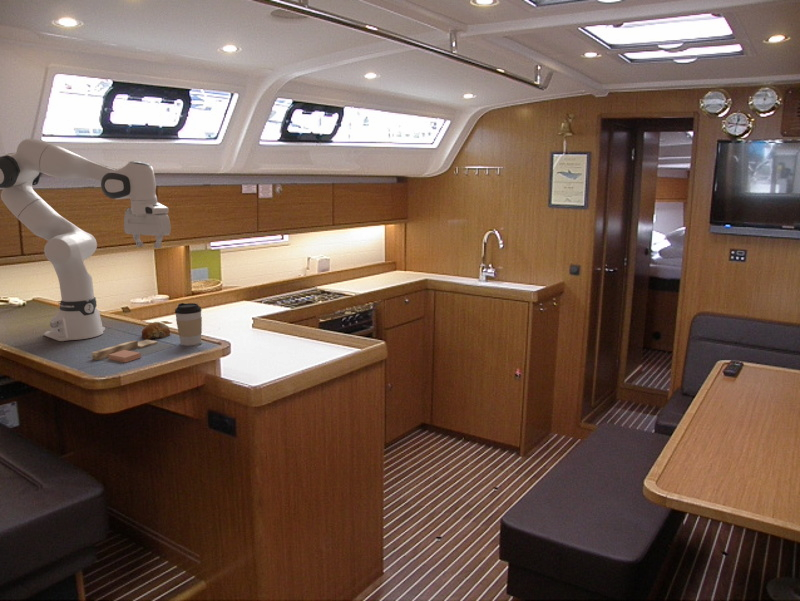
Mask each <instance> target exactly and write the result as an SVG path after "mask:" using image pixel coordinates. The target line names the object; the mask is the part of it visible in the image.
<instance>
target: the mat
mask: <svg viewBox="0 0 800 601" xmlns="http://www.w3.org/2000/svg"><path fill="white" fill-rule="evenodd" d="M176 346H177V345H175V344H170V343H164V342H158V344H154V345H151V346H148V347H144V348H136V349H132V350H129V351H133V352H138V353H141V358H142V357H145V356H148V355H151V354H155V353H157V352H161V351H164V350H168V349H170V348H172V347H176ZM89 358H90V359H93V357H92V355H91V356H90V355H89V356H88V359H89ZM99 361H105V362H109V363H115V364H118V365H119V364H122V363H124V362H120V361H115V360H110V359H109V357H106V358H103V359H99Z"/></svg>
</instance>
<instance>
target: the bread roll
mask: <svg viewBox="0 0 800 601" xmlns="http://www.w3.org/2000/svg"><path fill="white" fill-rule="evenodd" d="M170 335H171V329H170V327H169V326H168V325H166V324H165V323H164V322H160V321H153V322H150V323H148V324H146V326H145V327H144V328H142V331H141V338H142V339H144V340H152V341H154V340H156V339H163V338H167V337H169V336H170Z"/></svg>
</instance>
